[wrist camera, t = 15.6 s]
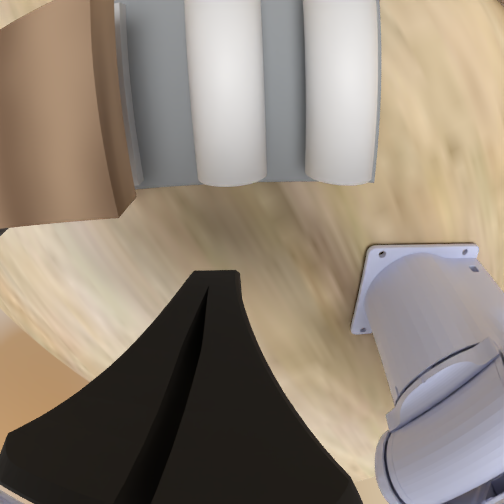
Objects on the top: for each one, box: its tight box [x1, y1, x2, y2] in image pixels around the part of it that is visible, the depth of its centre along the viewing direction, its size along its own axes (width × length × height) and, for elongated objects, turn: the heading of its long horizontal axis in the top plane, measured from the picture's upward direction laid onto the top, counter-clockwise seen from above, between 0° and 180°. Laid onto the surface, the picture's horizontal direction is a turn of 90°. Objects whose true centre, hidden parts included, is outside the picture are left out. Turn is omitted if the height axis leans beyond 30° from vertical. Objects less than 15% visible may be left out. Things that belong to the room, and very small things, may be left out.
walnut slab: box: [0, 0, 136, 229], centre depth 10 cm, size 9×9×2 cm
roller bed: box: [0, 0, 381, 236], centre depth 11 cm, size 22×11×7 cm, turn 92°
